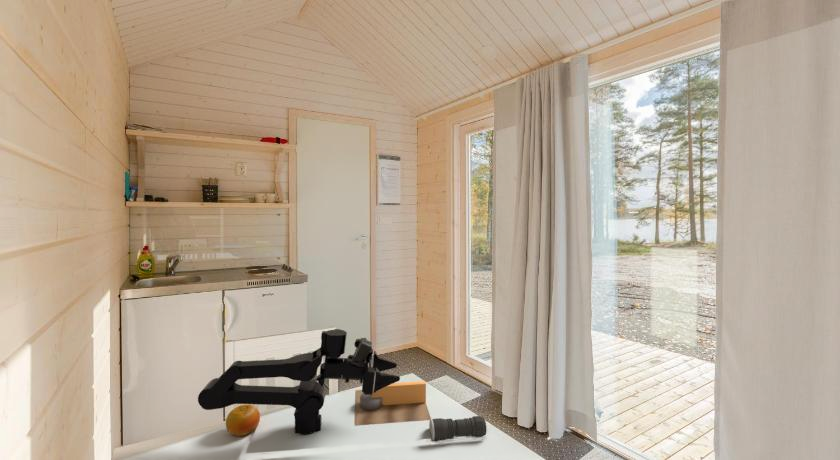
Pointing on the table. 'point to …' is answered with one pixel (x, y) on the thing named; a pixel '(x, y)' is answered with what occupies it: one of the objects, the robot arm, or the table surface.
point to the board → (390, 413)
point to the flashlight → (457, 427)
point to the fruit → (242, 420)
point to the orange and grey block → (395, 395)
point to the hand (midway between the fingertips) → (398, 371)
